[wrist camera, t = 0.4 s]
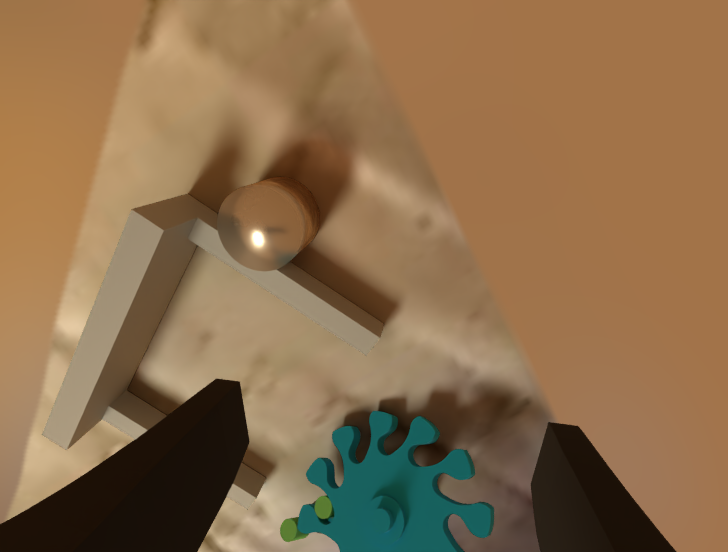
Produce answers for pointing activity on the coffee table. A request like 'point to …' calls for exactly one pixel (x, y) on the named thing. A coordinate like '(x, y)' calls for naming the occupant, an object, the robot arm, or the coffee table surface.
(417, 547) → the gear
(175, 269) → the cradle
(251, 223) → the bushing
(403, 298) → the coffee table surface
